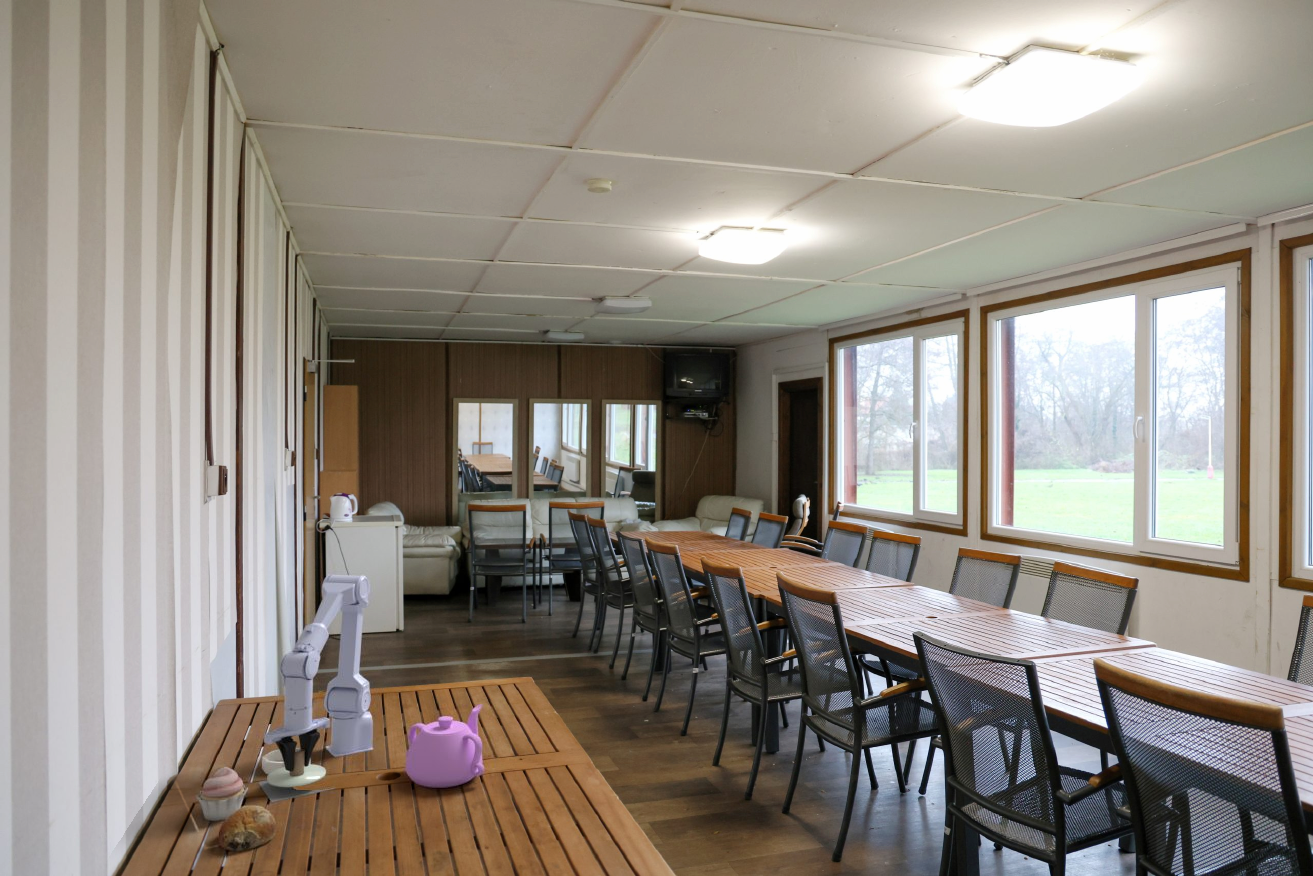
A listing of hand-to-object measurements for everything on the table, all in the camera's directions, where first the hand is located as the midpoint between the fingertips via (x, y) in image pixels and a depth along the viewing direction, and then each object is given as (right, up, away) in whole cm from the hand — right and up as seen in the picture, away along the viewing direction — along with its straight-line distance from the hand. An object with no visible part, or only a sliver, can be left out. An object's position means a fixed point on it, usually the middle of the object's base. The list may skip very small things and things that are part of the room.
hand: (297, 767), depth 188 cm
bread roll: (+1, -4, -26) cm, 26 cm away
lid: (0, -2, 0) cm, 2 cm away
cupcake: (-9, -4, -15) cm, 18 cm away
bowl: (-7, -4, +11) cm, 14 cm away
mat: (0, -4, 0) cm, 4 cm away
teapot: (+32, -5, +9) cm, 34 cm away
